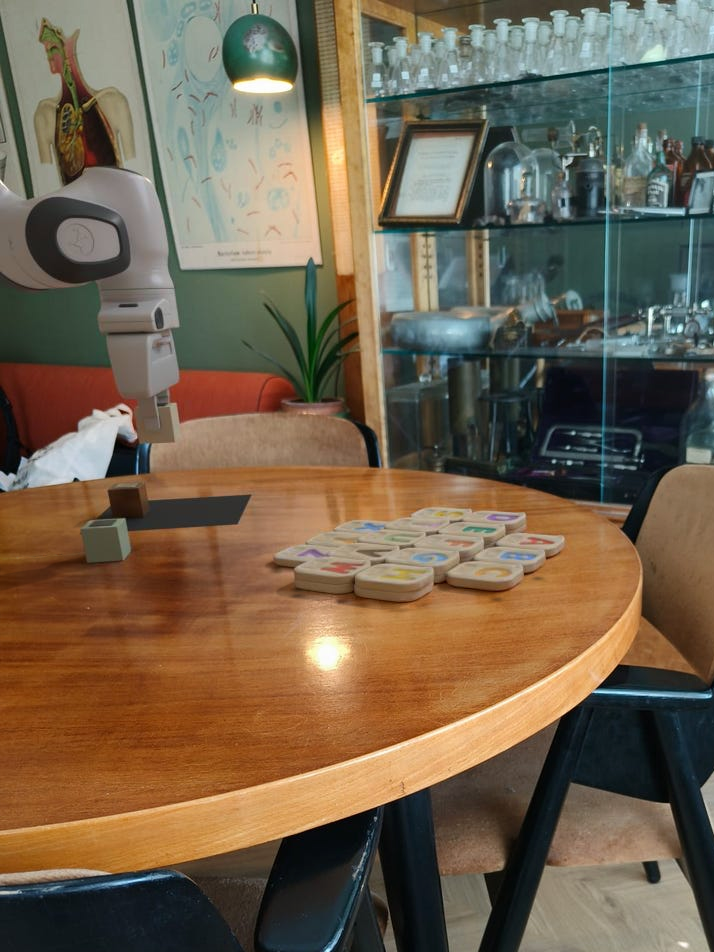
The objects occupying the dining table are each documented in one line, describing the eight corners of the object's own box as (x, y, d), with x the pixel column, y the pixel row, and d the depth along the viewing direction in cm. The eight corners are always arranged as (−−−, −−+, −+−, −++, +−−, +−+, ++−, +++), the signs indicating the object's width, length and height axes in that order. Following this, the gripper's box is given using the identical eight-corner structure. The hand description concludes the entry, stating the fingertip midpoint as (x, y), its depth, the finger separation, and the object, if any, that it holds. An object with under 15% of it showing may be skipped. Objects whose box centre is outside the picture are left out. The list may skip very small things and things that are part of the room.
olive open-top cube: (87, 563, 113) (79, 528, 111) (96, 553, 117) (89, 519, 115) (123, 560, 113) (116, 525, 112) (131, 551, 117) (125, 517, 116)
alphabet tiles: (380, 514, 132) (379, 498, 131) (586, 534, 118) (587, 516, 118) (231, 579, 104) (228, 559, 103) (478, 614, 91) (477, 592, 90)
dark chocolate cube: (112, 519, 133) (107, 489, 131) (120, 512, 137) (114, 483, 135) (143, 517, 133) (138, 487, 131) (150, 510, 137) (144, 481, 136)
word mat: (79, 536, 125) (79, 533, 125) (114, 504, 144) (114, 502, 144) (237, 526, 128) (237, 524, 128) (252, 496, 146) (251, 494, 146)
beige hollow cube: (139, 444, 114) (133, 407, 112) (147, 438, 118) (141, 403, 116) (175, 442, 114) (169, 406, 113) (181, 437, 118) (176, 401, 117)
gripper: (133, 313, 119) (150, 417, 125) (92, 317, 101) (114, 440, 106) (181, 311, 120) (196, 415, 125) (149, 316, 101) (168, 438, 106)
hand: (158, 427), depth 115 cm, fingers closed on beige hollow cube, 4 cm apart
